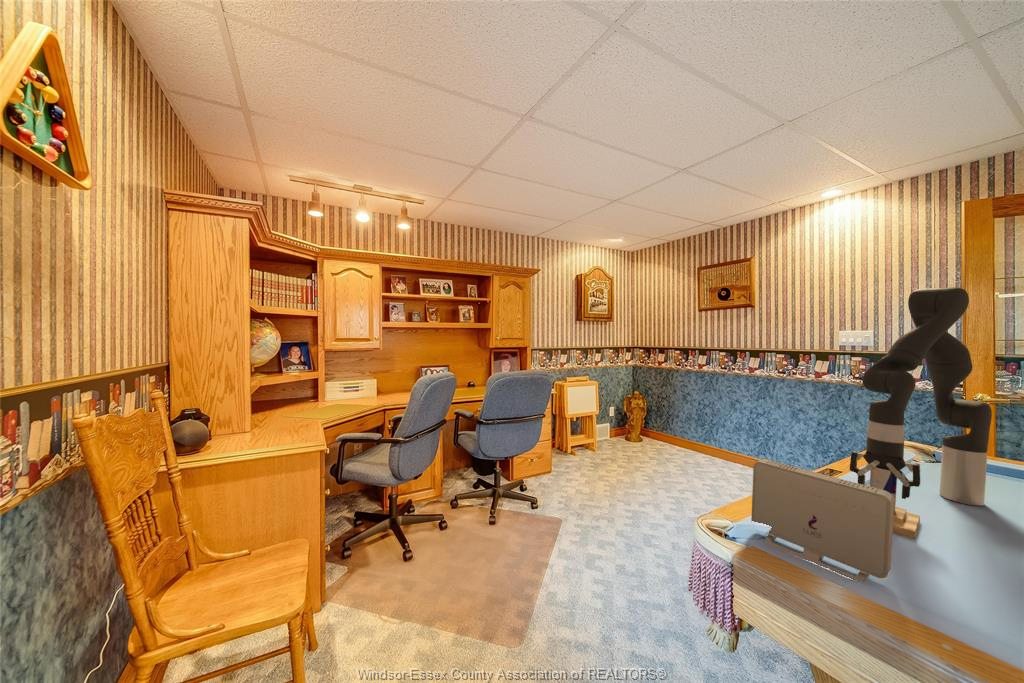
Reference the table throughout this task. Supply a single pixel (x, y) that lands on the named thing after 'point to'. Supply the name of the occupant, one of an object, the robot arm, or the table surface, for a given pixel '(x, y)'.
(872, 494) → the network device
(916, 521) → the plinth
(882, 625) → the table surface
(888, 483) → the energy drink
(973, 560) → the table surface
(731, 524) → the table surface
